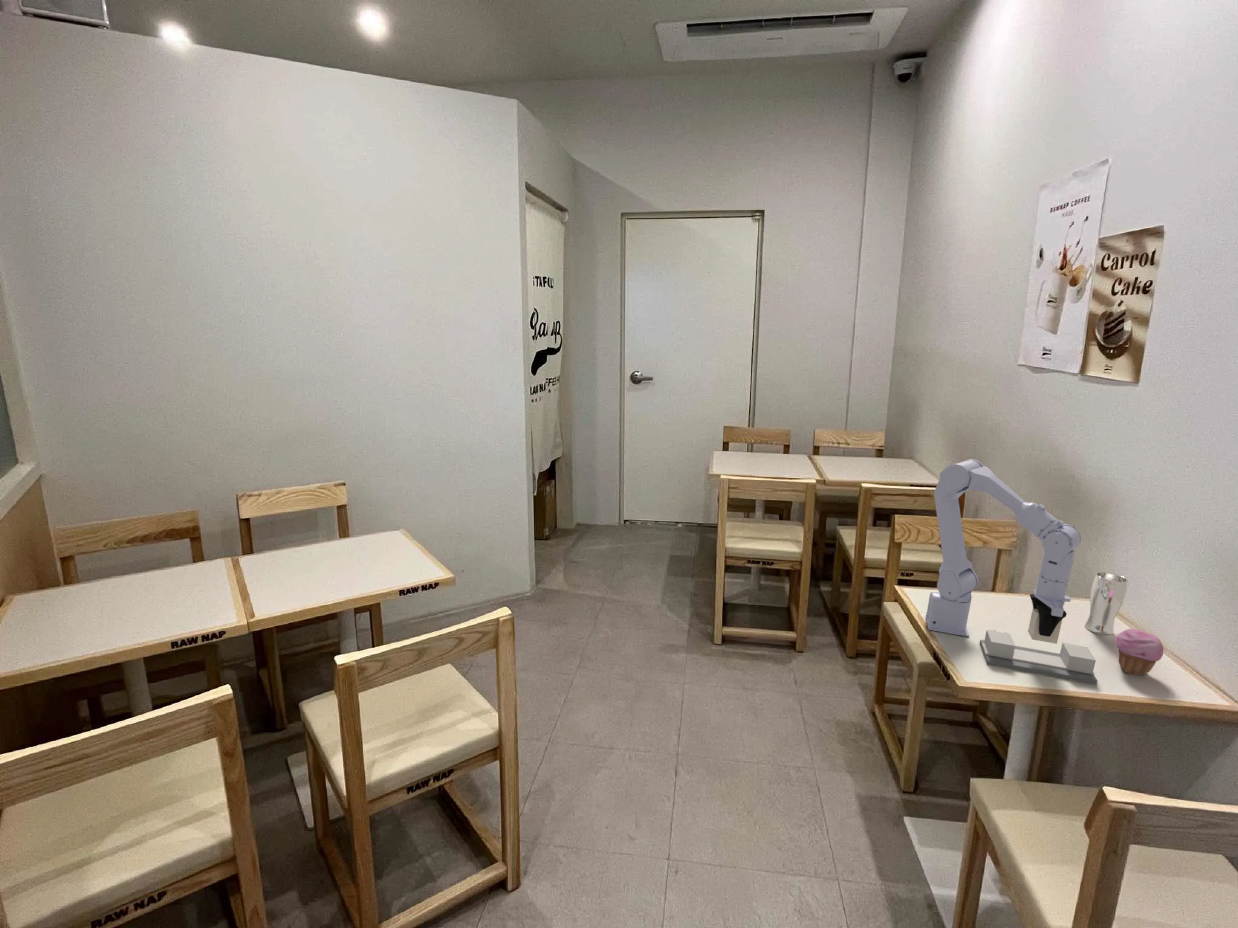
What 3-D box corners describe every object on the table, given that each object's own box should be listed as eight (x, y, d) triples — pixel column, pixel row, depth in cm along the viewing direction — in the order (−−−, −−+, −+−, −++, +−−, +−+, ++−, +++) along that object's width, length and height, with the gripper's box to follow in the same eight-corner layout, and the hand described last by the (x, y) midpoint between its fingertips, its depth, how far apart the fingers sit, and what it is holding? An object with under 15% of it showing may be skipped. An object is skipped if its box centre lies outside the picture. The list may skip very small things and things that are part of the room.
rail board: (986, 663, 152) (990, 645, 151) (979, 643, 161) (982, 625, 160) (1096, 684, 145) (1101, 665, 144) (1082, 661, 154) (1087, 643, 153)
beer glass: (1086, 632, 168) (1099, 579, 164) (1079, 620, 174) (1091, 569, 170) (1119, 638, 165) (1132, 584, 162) (1110, 626, 172) (1123, 574, 168)
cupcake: (1104, 656, 157) (1114, 619, 154) (1148, 665, 154) (1158, 627, 151) (1116, 676, 149) (1126, 637, 146) (1162, 685, 146) (1174, 645, 143)
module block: (1032, 639, 151) (1037, 615, 149) (1027, 631, 154) (1032, 607, 153) (1056, 643, 149) (1062, 619, 148) (1052, 635, 153) (1057, 611, 151)
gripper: (1084, 593, 140) (1071, 649, 144) (1064, 567, 153) (1053, 619, 157) (1046, 587, 142) (1034, 642, 146) (1030, 562, 155) (1020, 614, 159)
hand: (1042, 630), depth 151 cm, fingers closed on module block, 4 cm apart
